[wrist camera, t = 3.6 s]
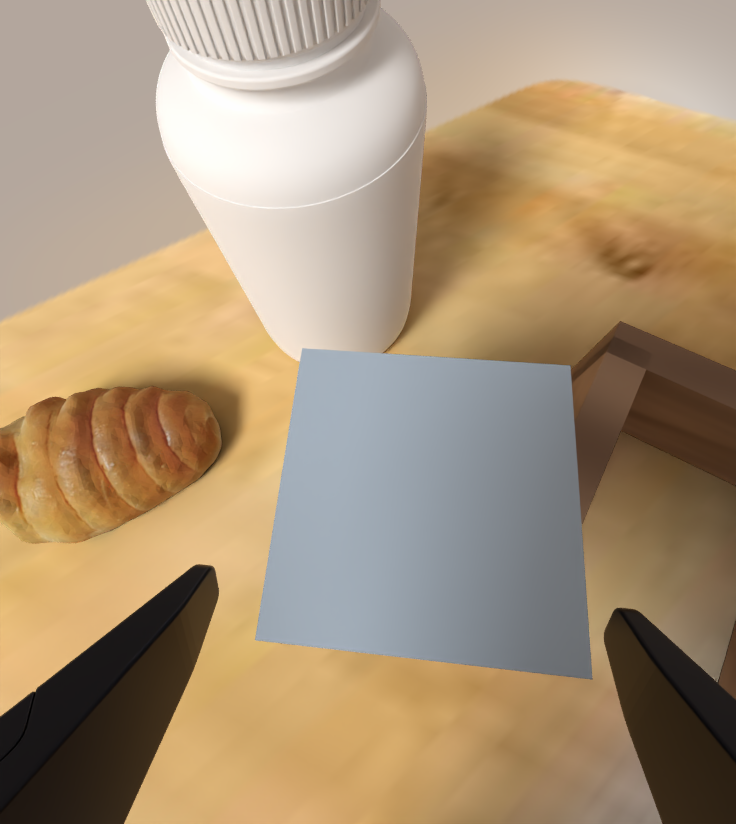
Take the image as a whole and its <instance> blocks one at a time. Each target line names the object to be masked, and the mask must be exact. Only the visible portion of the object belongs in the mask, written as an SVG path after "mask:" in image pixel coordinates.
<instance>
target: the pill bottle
mask: <svg viewBox="0 0 736 824" xmlns="http://www.w3.org/2000/svg"><path fill="white" fill-rule="evenodd" d="M146 2H147V4H148V6H149V8H150V10H151V13H152V15H153V17H154V19H155V21H156V23H157V25H158V26H159V28H160V30H162V32H163V34H164V35H165V38H166V41H167V44H168V46H169V48H170V51H169V53H168V55H167V56H166V59H165V61H164V63H163V66H162V68H161V71H160V75H159V79H158V83H157V91H156V112H157V120H158V125H159V129H160V133H161V138H162V142H163V145H164V148H165V151H166V153H167V155H168V158H169V160H170V161H171V163H172V165H173V167H174V169H175V171H176V173H177V175H178V176H179V178H180V180H181V182H182V183H183V185H184V187H185V189H186V190H187V192H188V194H189V196H190V198H191V199H192V201H193V203H194V205H195V206H196V208H197V210H198V211H199V213H200V215H201V217H202V218H203V220H204V222H205V224H206V225H207V227H208V229H209V231H210V232H211V234H212V236H213V238H214V239H215V241H216V243H217V245H218V246H219V248H220V250H221V252H222V253H223V255H224V257H225V259H226V260H227V262H228V264H229V266H230V267H231V269H232V271H233V273H234V274H235V276H236V278H237V280H238V281H239V283H240V285H241V287H242V288H243V290H244V292H245V294H246V295H247V297H248V299H249V301H250V302H251V304H252V306H253V308H254V309H255V311H256V313H257V315H258V316H259V318H260V320H261V322H262V323H263V325H264V327H265V329H266V330H267V332H268V334H269V335H270V337H271V338H272V339H273V341H274V342H275V343H276V344H277V345H278V346H279V347H280V348H281V349H282V350H283V351H284V352H285V353H286V354H287V355H289V356H290V357H292V358H293V359H295V360H297V361H298V362H300V358H301V352H302V348H307V349H322V350H338V351H354V352H369V353H383V352H384V351H385V350H387V349H388V348H389V347H390V346H391V345H392V344H393V342H394V341H395V340H396V339H397V337H398V336H399V334H400V333H401V331H402V329H403V327H404V325H405V322H406V319H407V316H408V312H409V308H410V303H411V292H412V280H413V268H414V256H415V245H416V233H417V221H418V209H419V197H420V186H421V174H422V162H423V150H424V139H425V127H426V111H427V95H426V87H425V83H424V78H423V72H422V68H421V65H420V62H419V58H418V56H417V53H416V51H415V48H414V46H413V44H412V42H411V40H410V39H409V37H408V35H407V34H406V33H405V31H404V30H403V29H402V27H401V26H400V25H399V24H398V22H397V21H396V20H395V19H394V18H393V17H392V16H390V15H389V14H388V13H387V12H386V11H385V10H383V9H382V8H381V7H380V0H146Z"/></svg>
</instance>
